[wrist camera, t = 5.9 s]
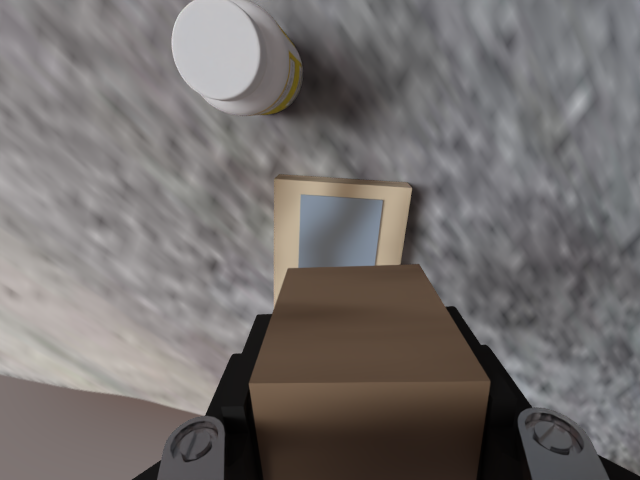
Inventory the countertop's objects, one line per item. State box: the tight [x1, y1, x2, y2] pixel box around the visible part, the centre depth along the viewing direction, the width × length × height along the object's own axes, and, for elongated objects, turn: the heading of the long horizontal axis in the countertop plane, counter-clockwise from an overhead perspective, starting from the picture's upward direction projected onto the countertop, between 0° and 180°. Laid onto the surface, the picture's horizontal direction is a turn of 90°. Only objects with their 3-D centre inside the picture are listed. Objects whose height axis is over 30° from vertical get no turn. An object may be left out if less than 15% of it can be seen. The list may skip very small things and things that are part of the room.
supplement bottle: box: [172, 0, 303, 116], centre depth 19 cm, size 5×5×10 cm
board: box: [274, 174, 412, 307], centre depth 27 cm, size 10×16×2 cm, turn 177°
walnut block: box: [249, 264, 491, 480], centre depth 10 cm, size 5×5×6 cm
